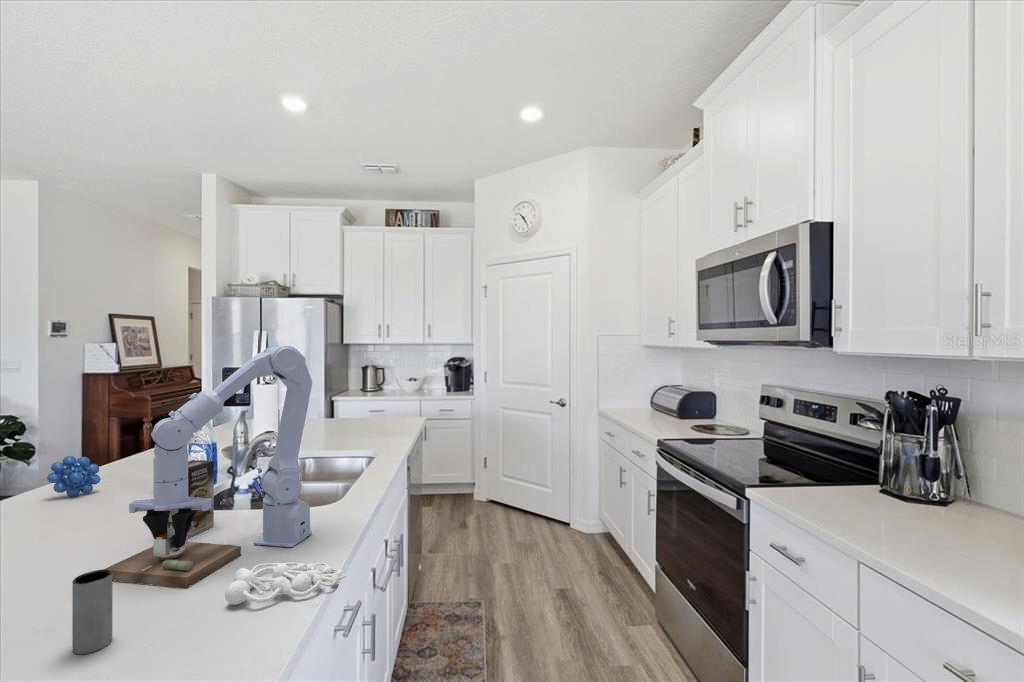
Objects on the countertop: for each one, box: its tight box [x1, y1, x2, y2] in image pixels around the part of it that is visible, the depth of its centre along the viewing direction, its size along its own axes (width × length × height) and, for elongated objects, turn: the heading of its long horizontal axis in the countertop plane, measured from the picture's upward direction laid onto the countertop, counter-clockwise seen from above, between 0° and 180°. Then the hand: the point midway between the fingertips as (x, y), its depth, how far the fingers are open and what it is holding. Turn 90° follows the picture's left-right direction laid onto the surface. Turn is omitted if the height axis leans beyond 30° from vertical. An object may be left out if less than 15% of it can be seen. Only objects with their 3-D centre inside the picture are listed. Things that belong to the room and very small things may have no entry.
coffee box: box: [167, 459, 215, 539], centre depth 116 cm, size 9×6×16 cm
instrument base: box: [102, 541, 242, 589], centre depth 98 cm, size 18×14×4 cm
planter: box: [71, 569, 113, 655], centre depth 73 cm, size 4×4×10 cm
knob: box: [153, 529, 189, 560], centre depth 99 cm, size 6×4×5 cm
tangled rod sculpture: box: [224, 561, 347, 606], centre depth 91 cm, size 19×14×4 cm
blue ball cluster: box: [46, 455, 101, 498], centre depth 142 cm, size 12×7×12 cm, turn 139°
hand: (171, 546), depth 99 cm, fingers closed on knob, 3 cm apart
